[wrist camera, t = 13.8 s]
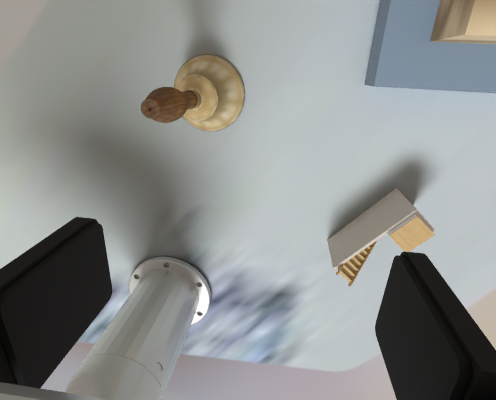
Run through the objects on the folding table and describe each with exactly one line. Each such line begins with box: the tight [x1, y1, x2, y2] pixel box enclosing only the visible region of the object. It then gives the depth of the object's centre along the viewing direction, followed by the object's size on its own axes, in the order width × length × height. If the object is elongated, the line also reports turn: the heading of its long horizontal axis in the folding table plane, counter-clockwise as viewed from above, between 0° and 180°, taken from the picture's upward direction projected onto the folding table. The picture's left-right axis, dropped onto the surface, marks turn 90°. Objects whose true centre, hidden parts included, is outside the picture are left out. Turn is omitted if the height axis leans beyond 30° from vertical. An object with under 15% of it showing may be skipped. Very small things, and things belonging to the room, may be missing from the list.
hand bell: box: [141, 55, 245, 131], centre depth 28 cm, size 8×8×16 cm
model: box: [327, 188, 435, 287], centre depth 36 cm, size 3×11×8 cm, turn 137°
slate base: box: [365, 0, 496, 93], centre depth 28 cm, size 14×14×4 cm
